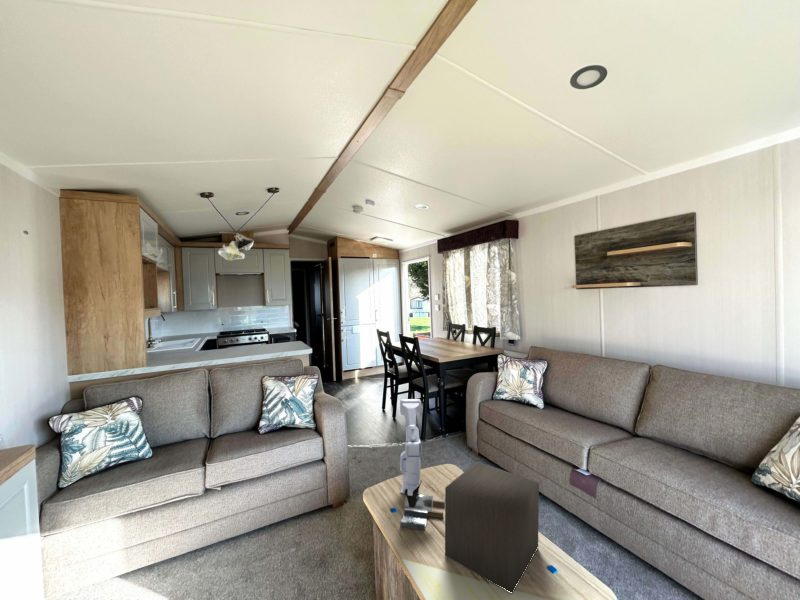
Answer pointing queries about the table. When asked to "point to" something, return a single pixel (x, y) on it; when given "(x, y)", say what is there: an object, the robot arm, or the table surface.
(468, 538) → the wood block
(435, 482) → the table surface
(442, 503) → the brown piece
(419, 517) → the cradle
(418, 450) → the robot arm
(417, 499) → the grey metal cylinder
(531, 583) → the table surface
